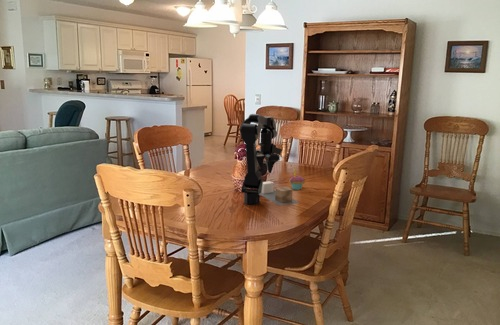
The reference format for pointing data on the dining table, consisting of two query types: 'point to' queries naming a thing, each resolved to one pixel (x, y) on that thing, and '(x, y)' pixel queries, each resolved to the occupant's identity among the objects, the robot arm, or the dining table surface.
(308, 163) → the dining table surface
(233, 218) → the dining table surface
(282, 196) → the cube
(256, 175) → the robot arm
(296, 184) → the cupcake
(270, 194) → the flat grey tray
